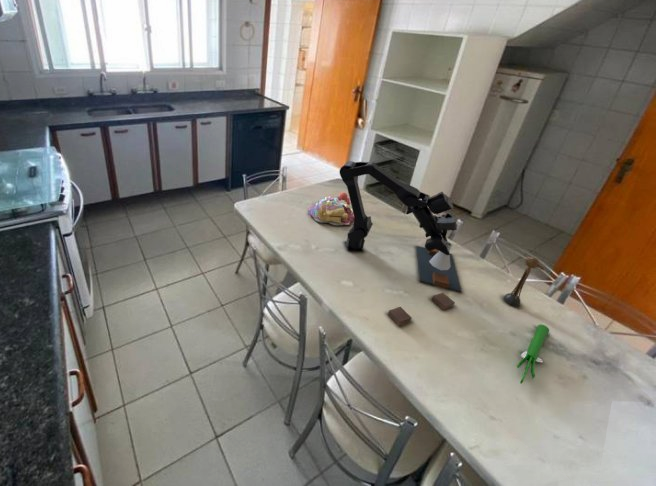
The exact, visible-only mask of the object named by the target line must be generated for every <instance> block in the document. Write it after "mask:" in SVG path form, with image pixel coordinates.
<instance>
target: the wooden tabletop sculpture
mask: <svg viewBox="0 0 656 486" xmlns="http://www.w3.org/2000/svg"><path fill="white" fill-rule="evenodd" d="M524 263H525V265H526V266H527V267H525V270H524V272H523V274H522V275H521V278H520V279H519V281H518V282H517V284H516V286H515V287H514V288H513V290H512V291H511V292H510V293H507V294H505V295H504V296H503V302H504V303H506V304H507V305H509V306H511V307H514V308H518V307H520V304H521V293H522V290H523V287H524V285H525V283H526V281H527V279H528V277H529V275H530V274H531V272H532V269H540V270H542V271H544V270H545V269H546V267H545V266H544V265H541V264H540V263H541V262H540V260H539V259H538V258H537V257H535V256H528V257H526V258H525V260H524Z"/></svg>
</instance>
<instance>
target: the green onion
mask: <svg viewBox="0 0 656 486" xmlns="http://www.w3.org/2000/svg"><path fill="white" fill-rule="evenodd" d="M549 332H550V328H549V327H548V326H547V325H545V324H541V323H540V324H538V325H537V327H536V330H535V333H534V335H533V337H532V339H531V341H530V344H529V346H528V349H527V350H525V351H524V352H522V353H521V355H520V356H521V358H522V359H521V361H520V362H518V363H517V365H516V368H517V369H519V368H520V367H521V366H522V365H523V364H524V363H525V362H526V361H527V363H526V365H525V368H524V370H523V373H522V377H521V379H520V382H519V384H520V385H522V384H523V383H524V380H525V378H526V375H527V373H528V370H529V368H530V375H531V379H535V377H536V372H535V363H536V362H537V363H544V361H543V359H541V358H540V357H539V355H540V352H541V349H542V347H543V345H544V343H545V339H546V338H547V336H548V334H549Z"/></svg>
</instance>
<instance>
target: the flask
mask: <svg viewBox="0 0 656 486" xmlns="http://www.w3.org/2000/svg"><path fill="white" fill-rule="evenodd" d="M447 241H448V240H447ZM447 241H446V242H445V244H446V246H447V249H448V251H449V253H450V254H451V248H452V247H453V245H454V244H452V243H451V242H450V241H448V242H447ZM429 262H430V263H431V264H432V266H433V267H435V268H437V269H439V270H448V269H449V268H450V267H451V266H450V255H446V254H444V253H442V252H440V251H439V252H438V253H437V254H436V255H435V256H434V257H433V258H432V259H431V260H430V261H429Z"/></svg>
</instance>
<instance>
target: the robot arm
mask: <svg viewBox="0 0 656 486" xmlns="http://www.w3.org/2000/svg"><path fill="white" fill-rule="evenodd" d="M338 173H339V176H340V178H341V180H342V182H343V183H344V185H345V186H346V188H347V192H348V193H347V194H348V196H349V197H348V198H349V199H350V201H349V202H350V207H351V208H352V210H353V213H352V214H354V220H353V225H352V226H351V228H350V230H349V231H348V232H347V237H346V241H344V245H345V247H346V249H347V252H360V253H361V252H364V249H363V248H364V246H365V241H366V239H365V238H366V237H367V236H368V235H369V233H370V231H371V229H372V228H373V227H372V226H373V225H374V223H373V222H372V217H371V215H369V216H368V215H367V214H366V213H365V208H364V204H363V200H362V199H363V198H362V195H361V191H360V186H359V177H361V176H365V175H369V176H370V177H372V178H373V179H375V180H376V181H377V182H379V183H380V184H382V185H383V186H384V187H385V188H387V189H388V190H390V191H392V192H393V194H395V196H396V198H397V200H399V201H400V202H401V203H402V204H403V205H404V206H405V207H406V212H405V215H410V214H413V216H414V218H415V219H416V221H417V222H418V223H419V225H418V227H419V228H420V229H423V231H424V232H425V237H426V238H427V239H426V240H425V244H424V248H426V250H427V251H431V250H434V249H437V250H439V251H440V252H442V253H444V254H446V255H450V254H451V252H450V253H449V251H448V249H447V246H446V244H445V242H446V241H447V242H449V241H448V238H447V234H448V231H457V230H458V223H457V222H458V221H457V218H456V216H455V215H453V214H452V213H451V212H447V211H450V210H452V209H454V204H453V202H452V200H451V199H450V196H448V195H447V194H445V193H444V192H443V191H439V192H438V193H437V194H434V195H432V196H430V195H429V194H427V193H425V192H422V191H420V190H419V189H418V188H417V187H415V186H413V185H410V184H408V183H404V182H402V181H400V180H398V179H397V178H396V177H395V176H393V175H391V174H390V173H388V172H387V171H386V170H384V169H383V168H382V167H380V166H379V165H378V164H376V162H374V161H356V162H355V161H352V160H349V161H346V162H345V163H344V164H343V165H342V166H341V167H340V169H339V172H338ZM444 212H446V213H445V215H444V216H441V217H438V215H440V214H442V213H444ZM429 237H430V238H429Z"/></svg>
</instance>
